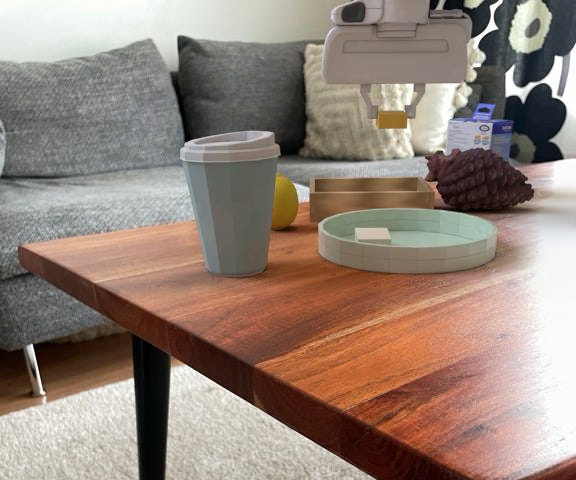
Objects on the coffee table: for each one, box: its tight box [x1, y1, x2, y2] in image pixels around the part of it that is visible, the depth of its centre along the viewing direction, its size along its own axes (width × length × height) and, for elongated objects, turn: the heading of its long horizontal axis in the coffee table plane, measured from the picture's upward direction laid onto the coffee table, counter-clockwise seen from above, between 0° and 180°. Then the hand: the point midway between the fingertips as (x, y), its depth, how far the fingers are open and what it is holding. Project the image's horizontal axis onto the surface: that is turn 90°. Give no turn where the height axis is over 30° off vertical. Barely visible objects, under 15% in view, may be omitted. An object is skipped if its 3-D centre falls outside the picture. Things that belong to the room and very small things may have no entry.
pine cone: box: [424, 147, 535, 212], centre depth 110 cm, size 18×10×10 cm
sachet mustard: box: [374, 109, 408, 130], centre depth 103 cm, size 4×6×2 cm, turn 178°
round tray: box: [317, 208, 499, 275], centre depth 87 cm, size 21×21×4 cm
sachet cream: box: [355, 228, 392, 245], centre depth 87 cm, size 4×6×2 cm, turn 178°
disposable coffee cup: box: [179, 130, 282, 278], centre depth 78 cm, size 11×11×15 cm
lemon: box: [271, 172, 299, 231], centre depth 98 cm, size 6×6×8 cm
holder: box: [308, 176, 436, 223], centre depth 108 cm, size 18×14×5 cm
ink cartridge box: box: [444, 102, 514, 163], centre depth 120 cm, size 10×6×14 cm, turn 36°
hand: (390, 118), depth 103 cm, fingers closed on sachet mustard, 4 cm apart
